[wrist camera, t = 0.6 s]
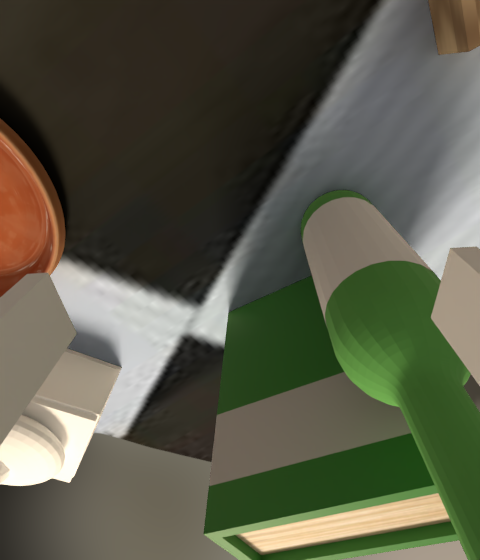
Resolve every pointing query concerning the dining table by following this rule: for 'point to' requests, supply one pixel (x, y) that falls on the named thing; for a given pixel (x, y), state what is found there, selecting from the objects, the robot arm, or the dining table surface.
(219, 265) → the dining table surface
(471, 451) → the wine bottle
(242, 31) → the dining table surface
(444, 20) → the wooden tray
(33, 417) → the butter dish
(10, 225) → the saucer
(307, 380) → the hardback book
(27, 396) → the robot arm
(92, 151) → the dining table surface
